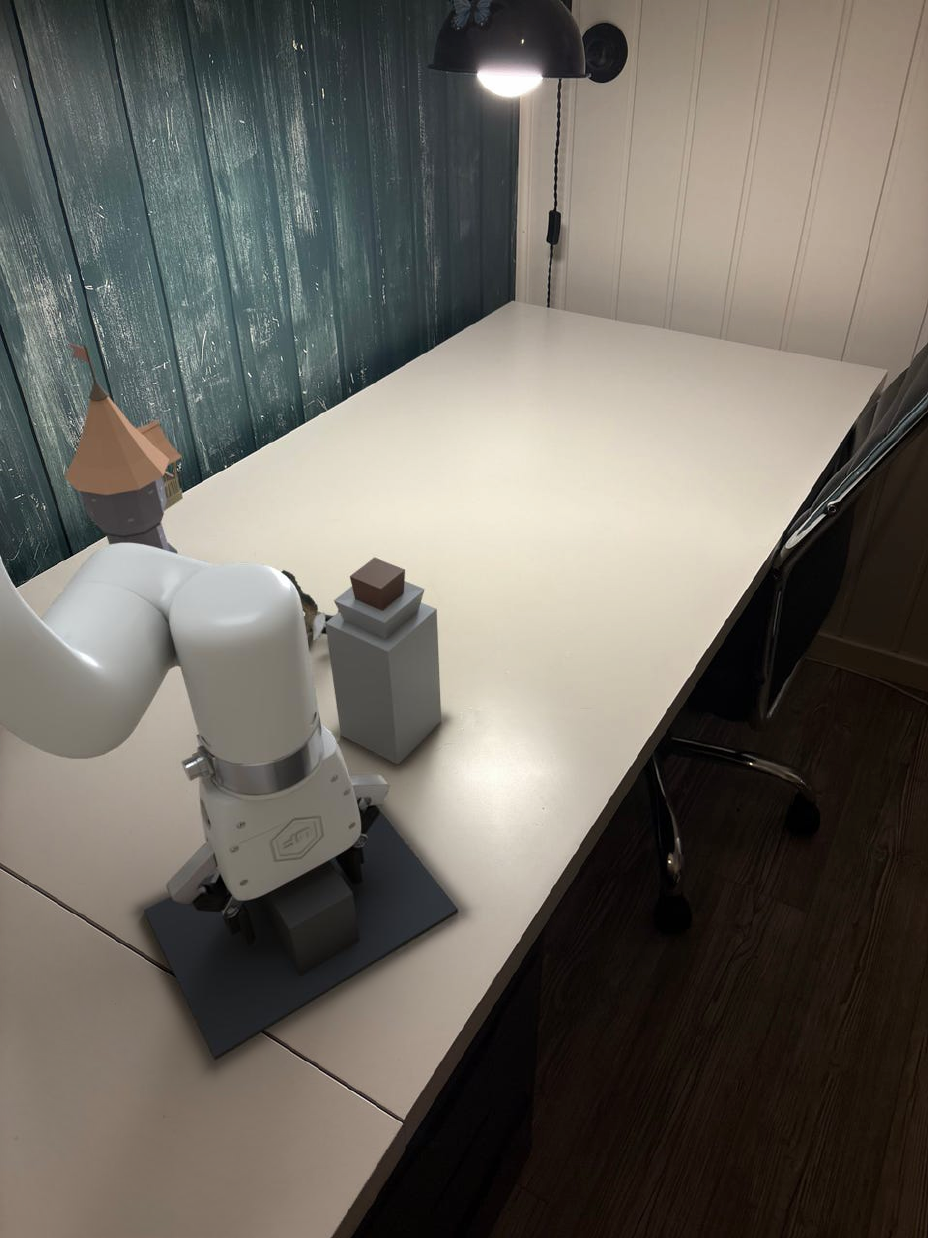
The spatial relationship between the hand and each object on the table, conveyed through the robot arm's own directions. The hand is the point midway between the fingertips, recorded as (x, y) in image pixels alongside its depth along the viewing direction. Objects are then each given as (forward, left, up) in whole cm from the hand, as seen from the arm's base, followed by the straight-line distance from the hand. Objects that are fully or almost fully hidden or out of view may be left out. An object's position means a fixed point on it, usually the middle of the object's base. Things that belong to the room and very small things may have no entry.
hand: (297, 899), depth 70 cm
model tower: (+5, +45, -2) cm, 45 cm away
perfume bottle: (+16, +13, -2) cm, 21 cm away
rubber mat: (0, 0, -2) cm, 2 cm away
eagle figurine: (+16, +30, -2) cm, 34 cm away
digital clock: (0, 0, -1) cm, 1 cm away
